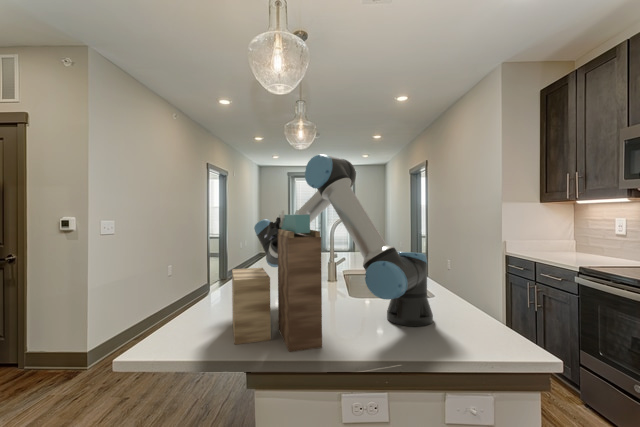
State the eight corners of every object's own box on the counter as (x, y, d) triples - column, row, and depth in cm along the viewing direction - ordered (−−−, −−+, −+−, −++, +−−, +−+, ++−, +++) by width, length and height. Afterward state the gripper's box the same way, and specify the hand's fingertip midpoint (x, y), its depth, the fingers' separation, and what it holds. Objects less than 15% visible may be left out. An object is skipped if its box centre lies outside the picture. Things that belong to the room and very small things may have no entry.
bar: (279, 229, 112) (279, 214, 112) (290, 228, 114) (290, 214, 114) (295, 233, 88) (295, 214, 88) (310, 232, 89) (309, 214, 89)
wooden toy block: (232, 323, 107) (232, 269, 107) (262, 320, 110) (262, 267, 110) (234, 344, 90) (234, 280, 90) (270, 340, 93) (270, 277, 93)
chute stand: (278, 329, 101) (277, 229, 101) (306, 326, 104) (305, 228, 104) (289, 352, 85) (288, 232, 85) (322, 347, 88) (321, 231, 88)
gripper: (303, 252, 124) (317, 223, 104) (257, 255, 119) (264, 224, 100) (300, 235, 127) (314, 203, 108) (256, 236, 122) (262, 204, 103)
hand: (290, 214), depth 104 cm, fingers closed on bar, 4 cm apart
